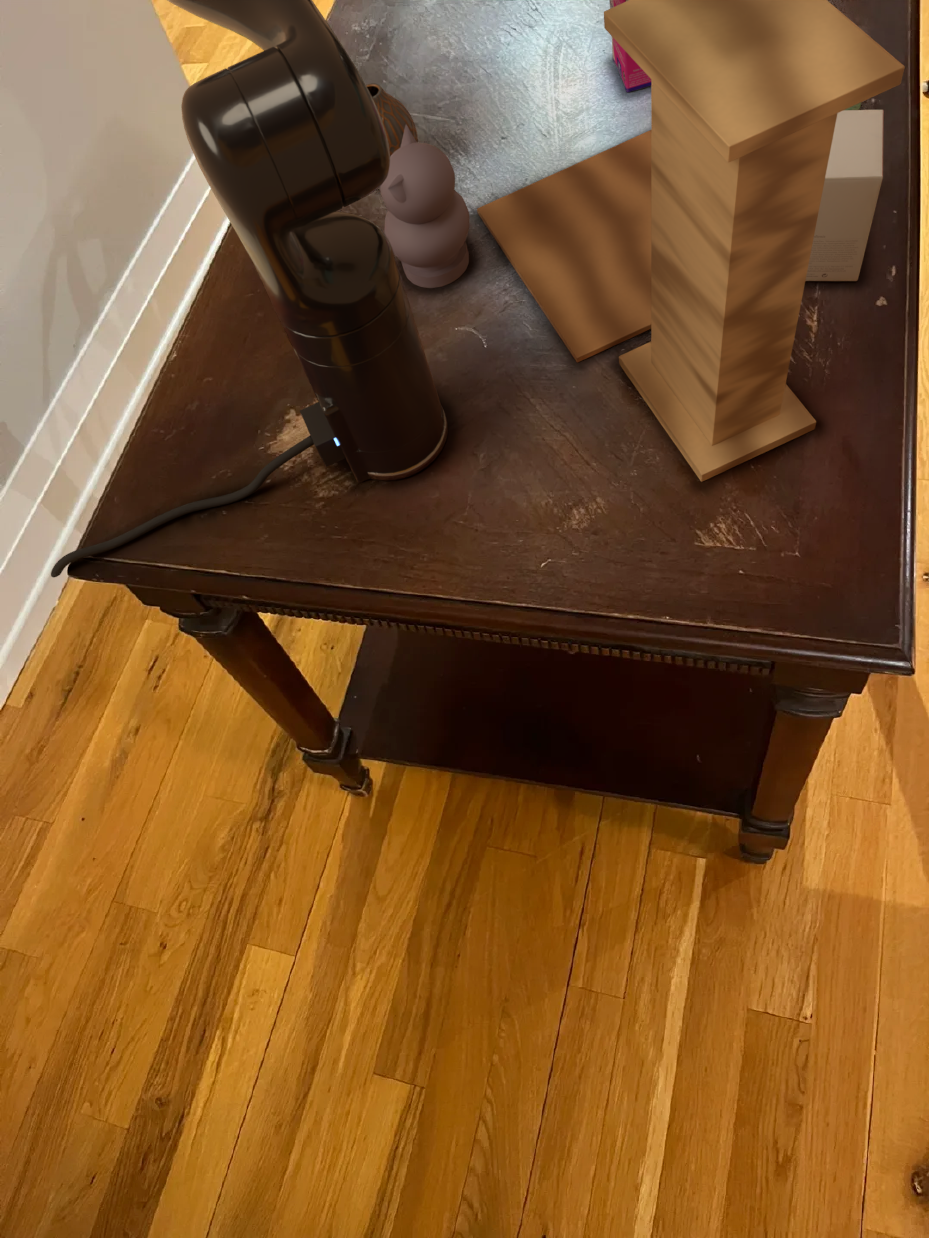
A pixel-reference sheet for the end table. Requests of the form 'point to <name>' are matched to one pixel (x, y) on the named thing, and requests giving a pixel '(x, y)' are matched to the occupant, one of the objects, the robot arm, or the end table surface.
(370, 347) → the robot arm
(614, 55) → the supplement box
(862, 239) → the small box
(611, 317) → the flat wooden board
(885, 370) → the end table surface
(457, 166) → the end table surface
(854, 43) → the wooden pedestal column
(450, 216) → the cat figurine
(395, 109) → the vase
